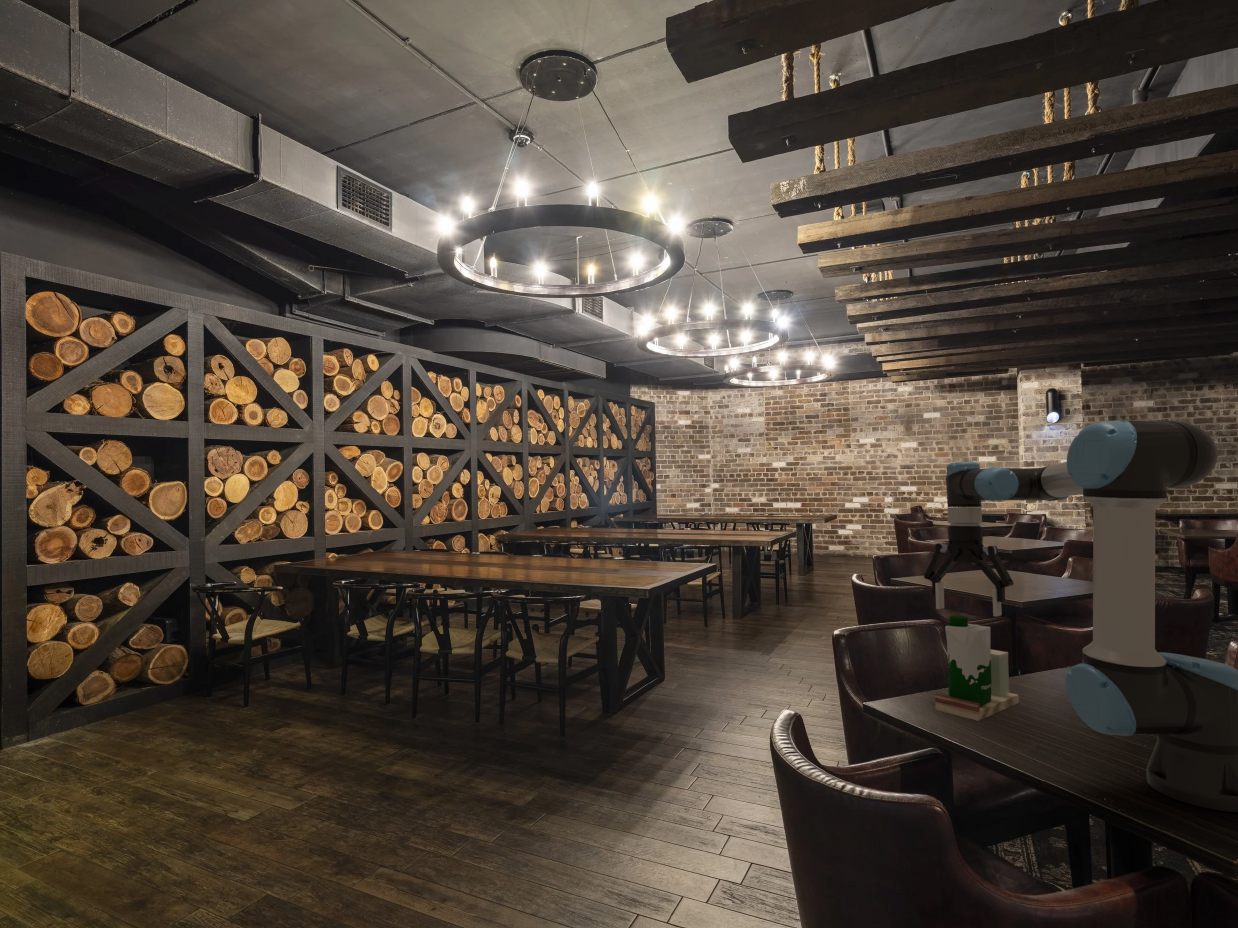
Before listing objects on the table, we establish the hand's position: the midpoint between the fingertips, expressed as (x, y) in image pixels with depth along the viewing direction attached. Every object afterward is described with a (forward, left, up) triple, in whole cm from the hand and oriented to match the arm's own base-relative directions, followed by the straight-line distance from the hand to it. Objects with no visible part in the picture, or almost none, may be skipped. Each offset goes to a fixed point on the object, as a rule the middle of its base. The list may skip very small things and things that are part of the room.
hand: (967, 612), depth 161 cm
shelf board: (+4, 0, -23) cm, 24 cm away
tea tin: (+12, 0, -21) cm, 25 cm away
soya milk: (0, 0, -22) cm, 22 cm away
